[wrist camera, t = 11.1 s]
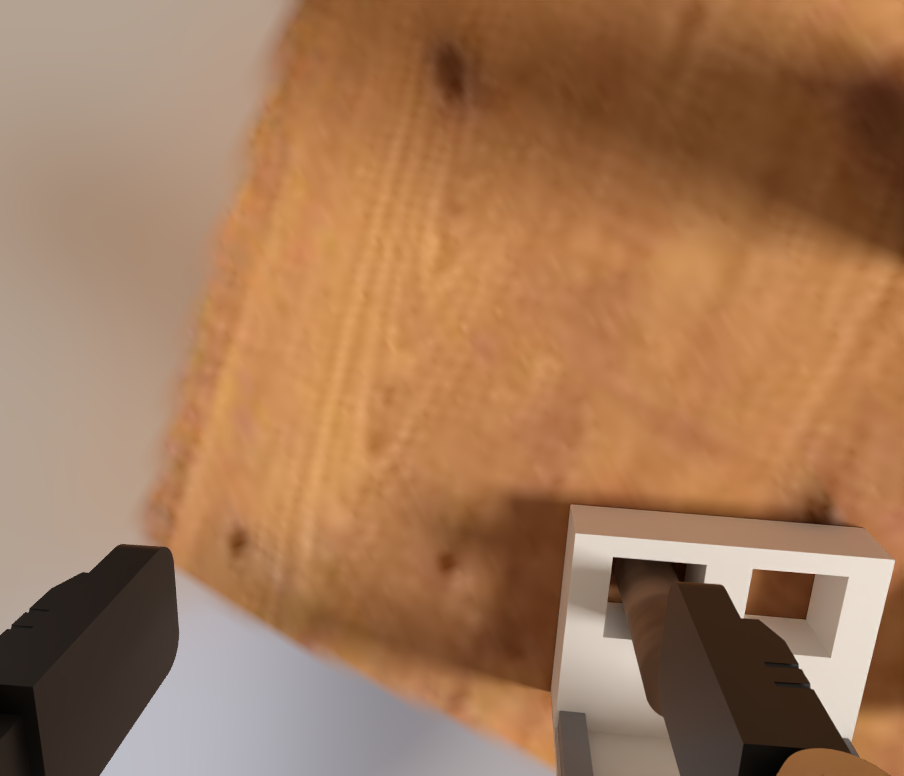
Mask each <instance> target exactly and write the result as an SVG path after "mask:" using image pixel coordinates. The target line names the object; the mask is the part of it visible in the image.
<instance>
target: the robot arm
mask: <svg viewBox="0 0 904 776" xmlns="http://www.w3.org/2000/svg"><path fill="white" fill-rule="evenodd" d="M178 640H179V626H178V612H177V599H176V586H175V572H174V561H173V556H172V553H171V551H170V550H169V549H168V548H167V547H158V546H142V545H126V544H122V545H118V546H117V547H115V548H114V549H113V550H112V551H111V552H110V553H109V554H108V555H107V556H106V557H105V558H104V559H103V560H102V561H101V562H100V563H99V564H98V565H97V566H96V567H94V568H93V569H92V570H91V571H90V572H89V573H84V572H83V573H80V574H78V575H77V576H74V577H73V578H71V579H69V580H67V581H65V582H63V583H61V584H59V585H57V586H55V587H54V588H51V590H49V591H48V592H47V593H46V594H45V595H44V596H43V597H42V598H40V599H39V600H38V601H37V602H36V603H35V604H34V605H33V606H32V607H31V608H30V610H29V613H27V612H25V613H24V614H23V615H22V616H21V617H20V618H19V619H18V620H17V621H15V622H14V623H13V624H12V627H11V629H7V630H6V631H5V632H3V633H2V634H1V635H0V776H99V775H100V774H101V773H102V771H103V770H104V768H105V767H106V765H107V764H108V762H109V761H110V759H111V758H112V756H113V755H114V753H115V752H116V750H117V749H118V747H119V746H120V744H121V743H122V741H123V740H124V738H125V737H126V735H127V734H128V732H129V731H130V729H131V728H132V727H133V725H134V723H135V722H136V721H137V719H138V718H139V716H140V715H141V713H142V712H143V710H144V708H145V707H146V706H147V704H148V703H149V701H150V700H151V698H152V697H153V695H154V694H155V692H156V691H157V689H158V688H159V686H160V685H161V683H162V682H163V680H164V679H165V678H166V676H167V675H168V673H169V671H170V670H171V667H172V665H173V662H174V660H175V656H176V653H177V648H178ZM658 681H659V698H660V705H661V710H662V714H663V717H664V721H665V724H666V728H667V731H668V735H669V738H670V742H671V745H672V749H673V752H674V756H675V759H676V763H677V766H678V770H679V773H680V776H891V775H889V774H888V773H887V772H885V771H884V770H882V769H881V768H879V767H877V766H876V765H874V764H872V763H870V762H868V761H866V760H864V759H862V758H859V757H857V756H855V755H852V754H851V752H850V750H849V748H848V747H847V745H846V743H845V742H844V740H843V738H842V737H841V735H840V733H839V732H838V730H837V728H836V726H835V725H834V723H833V721H832V720H831V718H830V716H829V715H828V713H827V711H826V710H825V708H824V706H823V704H822V703H821V701H820V699H819V698H818V696H817V694H816V693H815V691H814V689H811V687H810V682H809V681H808V679H807V677H806V676H805V674H804V672H803V671H802V669H799V664H798V662H797V660H796V659H795V657H794V655H793V654H792V652H791V650H790V649H789V647H788V645H787V643H786V642H785V640H783V639H782V638H781V637H780V636H779V635H777V634H776V633H775V632H774V631H772V630H771V629H770V628H769V627H768V626H766V625H765V624H764V623H763V622H761V621H760V620H759V619H746V618H741V617H740V616H739V614H738V612H737V610H736V608H735V606H734V604H733V602H732V600H731V598H730V596H729V594H728V593H727V591H726V589H725V587H724V586H723V585H721V584H708V583H693V582H677V581H674V582H672V584H671V586H670V589H669V594H668V600H667V608H666V616H665V624H664V632H663V640H662V648H661V656H660V664H659V680H658Z"/></svg>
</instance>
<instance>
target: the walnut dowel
mask: <svg viewBox="0 0 904 776" xmlns="http://www.w3.org/2000/svg"><path fill="white" fill-rule="evenodd" d="M614 571H615V576H616V580H617V584H618V587H619V591H620V595H621V599H622V603H623V607H624V611H625V615H626V619H627V623H628V627H629V631H630V635H631V639H632V643H633V647H634V651H635V655H636V659H637V663H638V667H639V671H640V675H641V679H642V683H643V687H644V691H645V695H646V699H647V701H648V703H649V705H650V707H651V708H652V709H653V710H654V711H655V712H656V713H657V714H659V715H660V716H662V717H663V714H662V710H661V705H660V698H659V681H658V680H659V664H660V656H661V648H662V640H663V632H664V624H665V616H666V608H667V600H668V594H669V589H670V586H671V584H672V582H674V581H677V582H679V580H678V578H677V575H676V573H675V570H674V568H673V565H672V563H671V562H668V561H656V560H644V559H632V558H621V557H617V558H616V561H615V565H614Z"/></svg>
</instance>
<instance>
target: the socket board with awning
mask: <svg viewBox="0 0 904 776" xmlns="http://www.w3.org/2000/svg"><path fill="white" fill-rule="evenodd" d="M613 557H621V558H632V559H644V560H656V561H668V562H680V563H687V565H686V572H685V578H684V582H693V583H708V584H721V585H723V586H724V587H725V589H726V591H727V593H728V594H729V596H730V598H731V600H732V602H733V604H734V606H735V608H736V610H737V612H738V614H739V616H740V617H741V618H746V619H759V620H760V621H761V622H763V623H764V624H765V625H766V626H768V627H769V628H770V629H771V630H772V631H774V632H775V633H776V634H777V635H779V636H780V637H781V638H782V639H783V640H785V642H786V643H787V645H788V647H789V649H790V650H791V652H792V654H793V655H794V657H795V659H796V660H797V662H798V664H799V669H802V671H803V672H804V674H805V676H806V677H807V679H808V681H809V682H810V687H811V689H814V691H815V693H816V694H817V696H818V698H819V699H820V701H821V703H822V704H823V706H824V708H825V710H826V711H827V713H828V715H829V716H830V718H831V720H832V721H833V723H834V725H835V726H836V728H837V730H838V732H839V733H840V735H841V737H842V738H843V740H844V742H845V743H846V745H847V747H848V748H849V750H850V752H851V754H852V755H855V756H857V757H859V755H858V753H857V752H856V750H855V748H854V747H853V745H852V743H851V741H852V737H853V733H854V729H855V725H856V721H857V716H858V712H859V708H860V704H861V700H862V696H863V692H864V687H865V683H866V679H867V675H868V671H869V667H870V663H871V658H872V654H873V650H874V646H875V642H876V638H877V634H878V629H879V625H880V621H881V617H882V613H883V609H884V605H885V601H886V596H887V592H888V588H889V584H890V580H891V576H892V572H893V567H894V563H895V559H894V558H893V557H892V556H891V555H890V554H889V553H888V552H887V551H886V550H885V549H884V548H883V547H882V546H881V545H880V544H879V543H878V542H877V541H876V540H875V539H874V538H873V537H872V536H871V535H870V534H869V533H868V532H867V531H866V530H865V529H864V528H857V527H845V526H833V525H820V524H808V523H796V522H783V521H771V520H759V519H746V518H734V517H722V516H709V515H697V514H685V513H672V512H660V511H648V510H635V509H623V508H611V507H598V506H586V505H574V504H570V513H569V523H568V532H567V542H566V551H565V561H564V570H563V580H562V589H561V599H560V608H559V617H558V627H557V636H556V646H555V655H554V665H553V674H552V684H551V705H552V719H553V733H554V747H555V761H556V775H557V776H680V773H679V770H678V766H677V763H676V759H675V756H674V752H673V749H672V745H671V742H670V738H669V735H668V731H667V728H666V724H665V721H664V717H662V716H660V715H659V714H657V713H656V712H655V711H654V710H653V709H652V708H651V707H650V705H649V703H648V701H647V699H646V695H645V691H644V687H643V683H642V679H641V675H640V671H639V667H638V663H637V659H636V655H635V651H634V647H633V643H632V639H631V635H630V631H629V627H628V623H627V619H626V615H625V611H624V607H623V603H612V602H607V600H608V592H609V584H610V576H611V569H612V561H613ZM753 569H762V570H774V571H786V572H797V573H809V574H815V579H814V584H813V588H812V593H811V598H810V603H809V607H808V612H807V617H806V620H804V619H793V618H781V617H770V616H759V615H747V614H745V609H746V603H747V598H748V592H749V587H750V582H751V576H752V571H753ZM859 758H860V757H859Z"/></svg>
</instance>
